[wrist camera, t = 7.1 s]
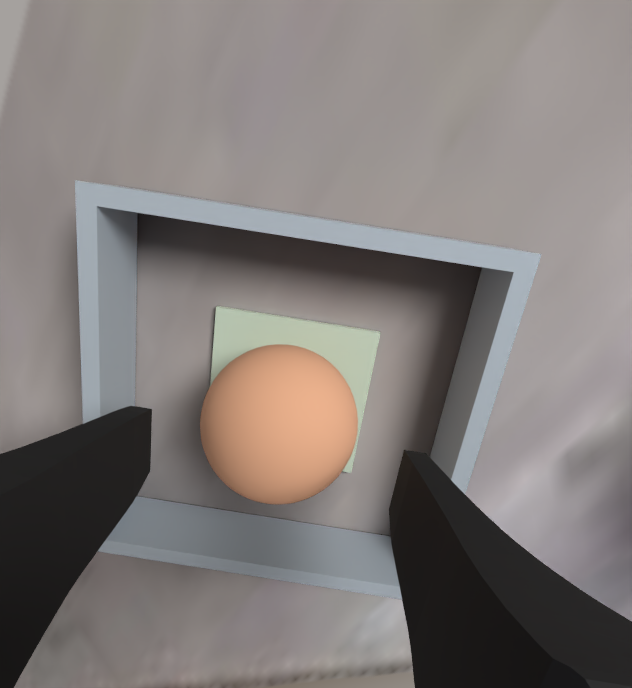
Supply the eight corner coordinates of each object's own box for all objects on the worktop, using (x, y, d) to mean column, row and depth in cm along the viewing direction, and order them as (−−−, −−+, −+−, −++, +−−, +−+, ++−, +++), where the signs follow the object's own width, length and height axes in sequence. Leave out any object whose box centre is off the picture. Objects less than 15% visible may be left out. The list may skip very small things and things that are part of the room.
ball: (368, 342, 15) (386, 404, 10) (336, 457, 16) (340, 557, 12) (233, 312, 15) (186, 362, 10) (214, 432, 16) (167, 524, 11)
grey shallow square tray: (505, 247, 14) (541, 254, 11) (417, 551, 18) (430, 604, 15) (120, 185, 14) (75, 180, 11) (120, 505, 18) (86, 549, 15)
